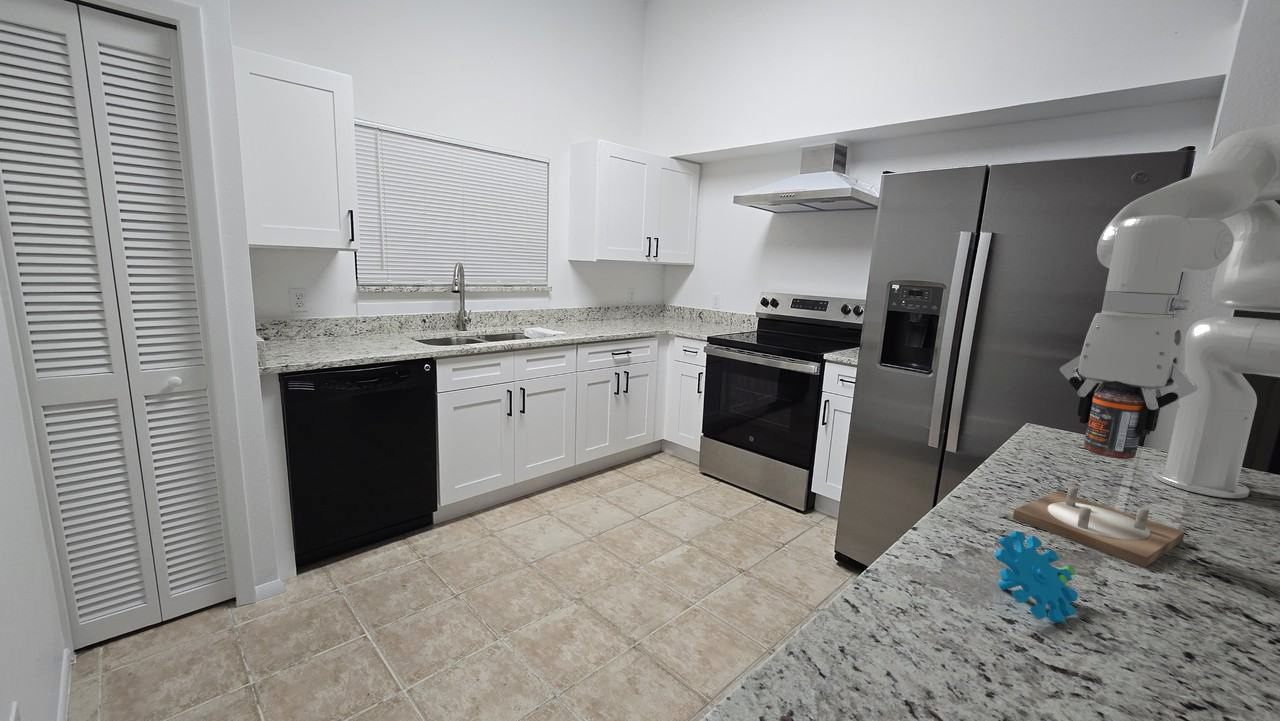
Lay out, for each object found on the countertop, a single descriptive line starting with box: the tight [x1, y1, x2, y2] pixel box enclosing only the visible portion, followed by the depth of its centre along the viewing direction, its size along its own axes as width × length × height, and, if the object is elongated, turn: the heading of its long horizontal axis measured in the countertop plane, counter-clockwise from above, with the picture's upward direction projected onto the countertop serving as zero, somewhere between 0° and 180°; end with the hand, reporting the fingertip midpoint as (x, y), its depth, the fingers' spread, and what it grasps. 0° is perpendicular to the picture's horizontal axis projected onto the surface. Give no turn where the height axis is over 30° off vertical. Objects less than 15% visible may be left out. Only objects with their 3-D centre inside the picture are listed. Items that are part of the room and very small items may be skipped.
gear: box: [994, 531, 1079, 624], centre depth 64 cm, size 11×6×10 cm
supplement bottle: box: [1083, 381, 1146, 460], centre depth 79 cm, size 6×6×11 cm
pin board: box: [1012, 486, 1186, 569], centre depth 82 cm, size 15×16×4 cm
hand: (1113, 427), depth 79 cm, fingers closed on supplement bottle, 6 cm apart
